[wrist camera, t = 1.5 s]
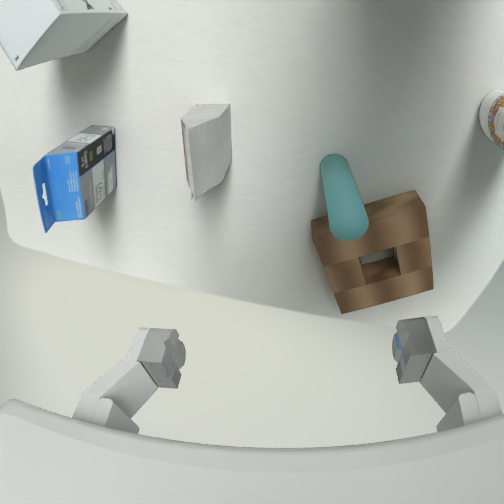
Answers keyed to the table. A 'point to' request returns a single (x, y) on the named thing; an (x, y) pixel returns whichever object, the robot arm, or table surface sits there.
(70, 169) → the label tape box
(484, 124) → the bath foam
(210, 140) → the white carton
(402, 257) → the socket block
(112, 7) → the supplement box
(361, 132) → the table surface
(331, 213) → the peg
